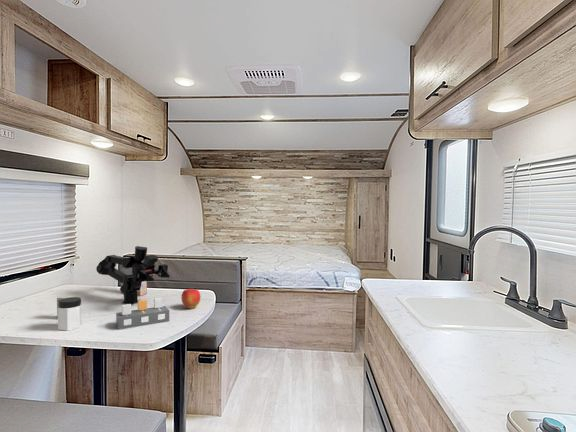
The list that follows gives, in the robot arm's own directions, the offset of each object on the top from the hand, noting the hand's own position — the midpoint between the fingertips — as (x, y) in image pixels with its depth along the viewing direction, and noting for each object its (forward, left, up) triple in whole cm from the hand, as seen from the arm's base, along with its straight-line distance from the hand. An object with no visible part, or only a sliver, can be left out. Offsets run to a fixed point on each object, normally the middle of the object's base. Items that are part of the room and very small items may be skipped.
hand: (161, 278), depth 171 cm
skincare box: (-32, -27, -17) cm, 45 cm away
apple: (+10, +10, -17) cm, 22 cm away
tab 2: (+3, -15, -11) cm, 19 cm away
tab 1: (+2, -23, -11) cm, 26 cm away
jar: (-19, -34, -17) cm, 42 cm away
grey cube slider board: (+4, -16, -16) cm, 24 cm away
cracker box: (-37, +18, -17) cm, 45 cm away
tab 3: (+7, -9, -11) cm, 16 cm away
